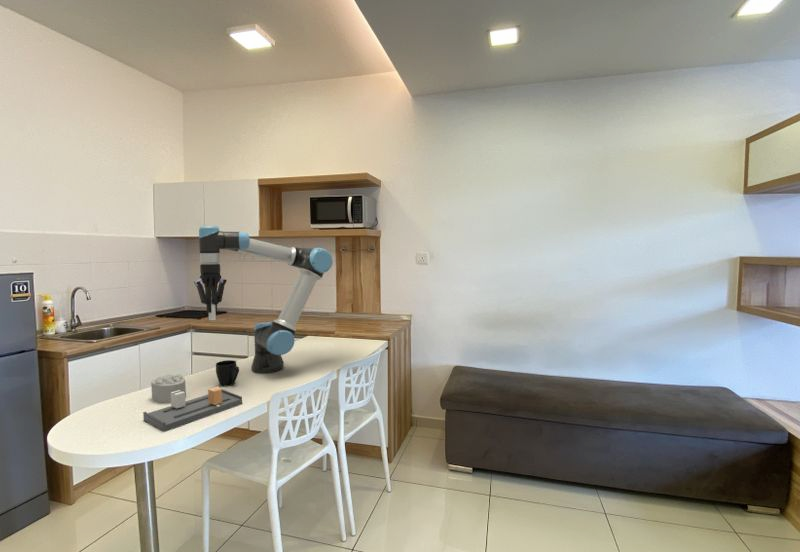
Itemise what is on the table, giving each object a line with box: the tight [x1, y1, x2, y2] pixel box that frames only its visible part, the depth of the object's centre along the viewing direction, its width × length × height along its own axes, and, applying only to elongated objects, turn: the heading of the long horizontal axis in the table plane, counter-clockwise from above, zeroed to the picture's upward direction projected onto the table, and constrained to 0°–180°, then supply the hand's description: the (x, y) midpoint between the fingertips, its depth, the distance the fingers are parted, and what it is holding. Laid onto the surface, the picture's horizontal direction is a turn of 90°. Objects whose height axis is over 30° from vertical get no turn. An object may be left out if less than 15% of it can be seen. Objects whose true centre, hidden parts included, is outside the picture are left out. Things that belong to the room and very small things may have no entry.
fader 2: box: [207, 386, 223, 405], centre depth 145 cm, size 3×4×5 cm
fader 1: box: [170, 390, 186, 408], centre depth 142 cm, size 3×4×5 cm
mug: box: [215, 359, 240, 387], centre depth 171 cm, size 8×12×10 cm
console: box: [142, 388, 243, 433], centre depth 143 cm, size 28×15×3 cm, turn 145°
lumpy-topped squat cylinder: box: [150, 373, 187, 405], centre depth 156 cm, size 10×13×9 cm
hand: (212, 319), depth 165 cm, fingers closed
